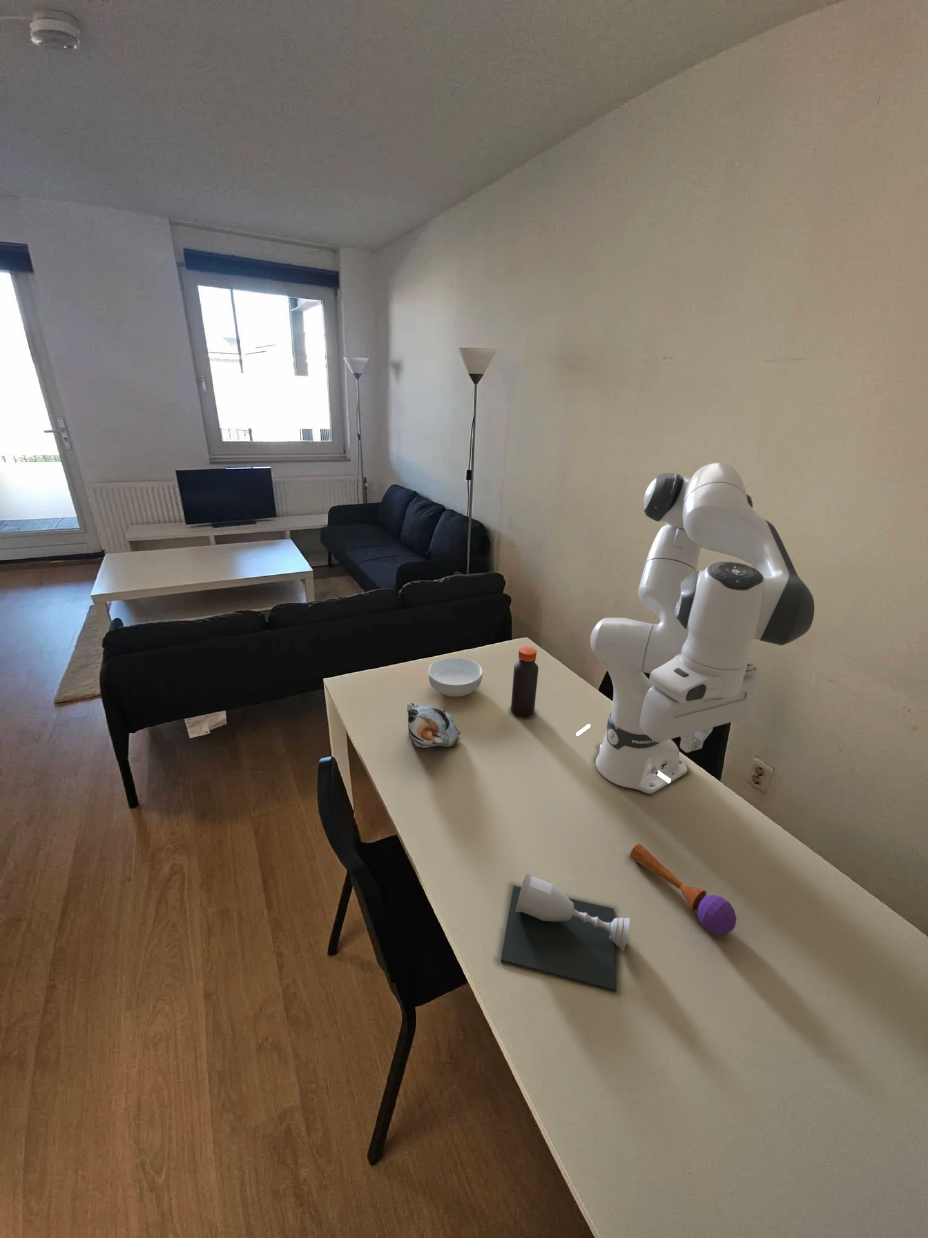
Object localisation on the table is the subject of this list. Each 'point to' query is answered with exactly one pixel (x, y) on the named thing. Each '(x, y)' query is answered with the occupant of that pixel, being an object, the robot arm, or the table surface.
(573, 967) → the mat
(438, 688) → the cereal bowl
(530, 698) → the bottle
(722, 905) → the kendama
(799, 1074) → the table surface
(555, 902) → the chalice
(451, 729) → the lucky cat figurine
